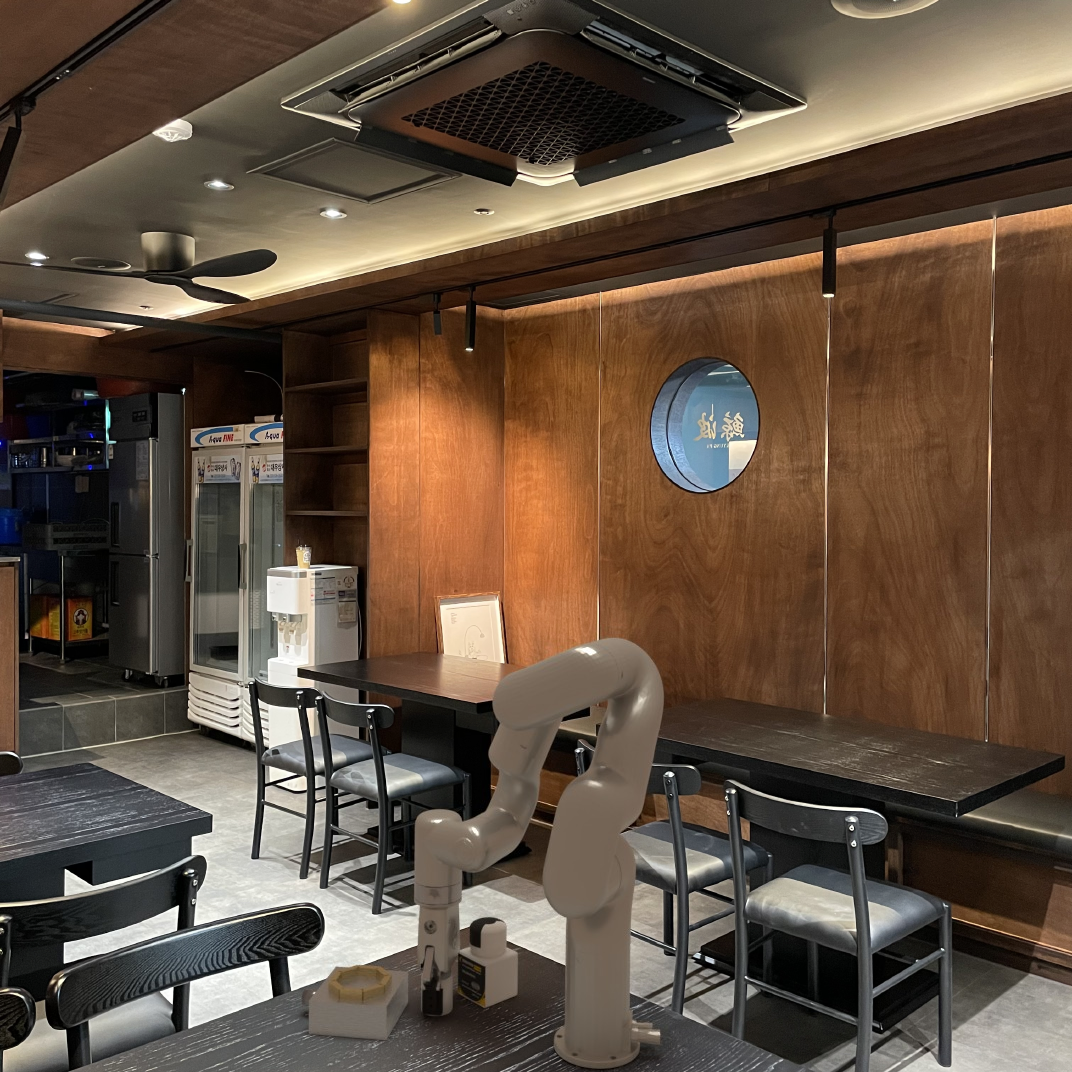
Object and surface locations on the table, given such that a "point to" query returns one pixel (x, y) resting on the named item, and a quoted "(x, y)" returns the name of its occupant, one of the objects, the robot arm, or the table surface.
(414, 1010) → the table surface
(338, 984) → the block
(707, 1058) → the table surface
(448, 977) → the short grey cylinder
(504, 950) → the medicine bottle
